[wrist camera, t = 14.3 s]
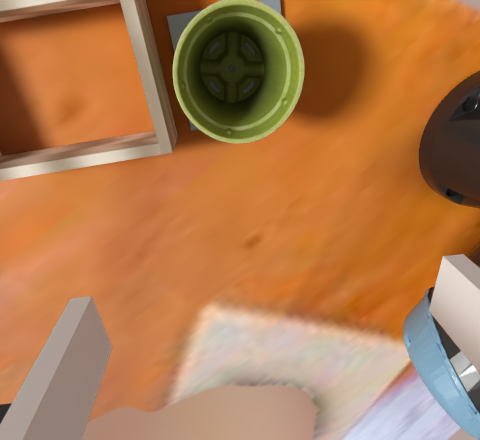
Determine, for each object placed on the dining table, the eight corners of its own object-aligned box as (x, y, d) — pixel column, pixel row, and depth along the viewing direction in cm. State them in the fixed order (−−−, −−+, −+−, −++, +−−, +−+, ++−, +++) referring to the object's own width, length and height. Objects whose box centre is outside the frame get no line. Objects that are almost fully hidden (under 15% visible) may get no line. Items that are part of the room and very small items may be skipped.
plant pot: (301, 67, 31) (331, 76, 23) (233, 139, 34) (240, 167, 26) (231, -18, 27) (238, -41, 20) (161, 70, 30) (144, 79, 23)
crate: (142, -16, 27) (126, -28, 22) (178, 136, 34) (172, 152, 29) (-80, 21, 27) (-143, 16, 22) (-3, 166, 34) (-38, 187, 29)
